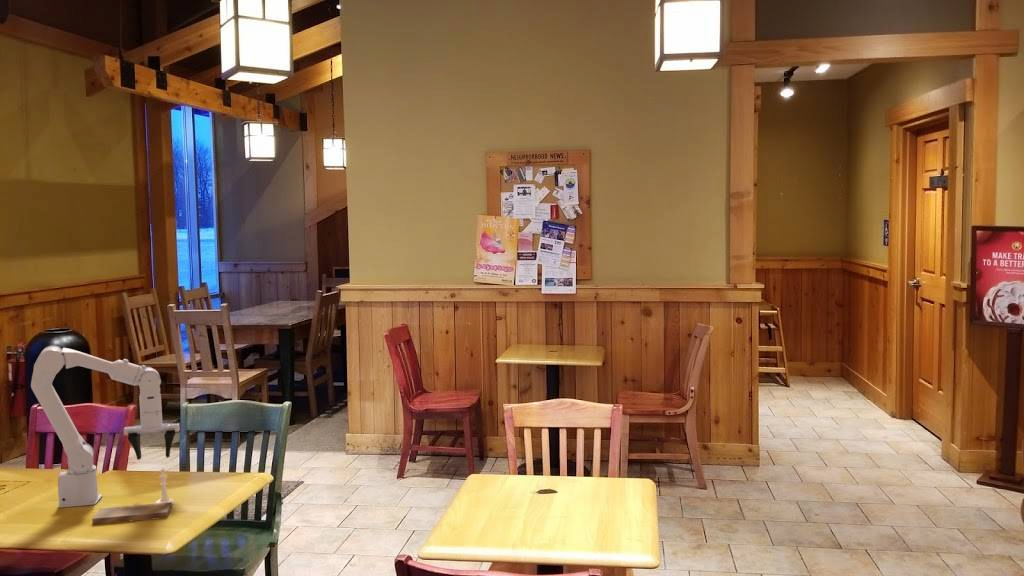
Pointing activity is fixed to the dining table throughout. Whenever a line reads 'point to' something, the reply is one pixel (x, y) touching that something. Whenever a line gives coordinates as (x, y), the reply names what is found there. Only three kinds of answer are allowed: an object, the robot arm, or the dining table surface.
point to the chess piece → (164, 489)
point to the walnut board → (132, 513)
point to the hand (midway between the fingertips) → (153, 457)
